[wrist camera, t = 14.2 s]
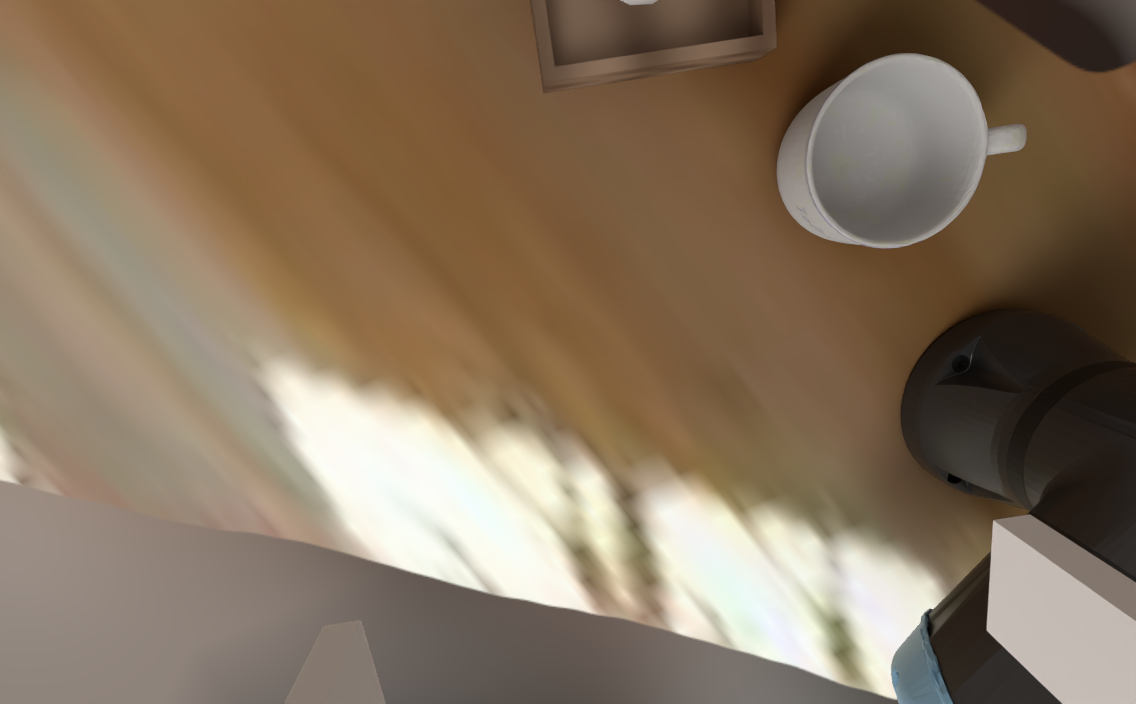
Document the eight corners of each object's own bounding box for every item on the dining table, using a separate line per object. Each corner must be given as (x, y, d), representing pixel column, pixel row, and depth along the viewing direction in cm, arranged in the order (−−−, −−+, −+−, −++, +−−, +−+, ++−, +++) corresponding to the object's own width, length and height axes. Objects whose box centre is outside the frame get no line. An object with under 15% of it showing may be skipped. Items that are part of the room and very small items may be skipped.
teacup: (748, 235, 41) (796, 244, 34) (770, 74, 38) (827, 43, 31) (930, 245, 42) (1018, 255, 34) (964, 87, 39) (1068, 60, 32)
